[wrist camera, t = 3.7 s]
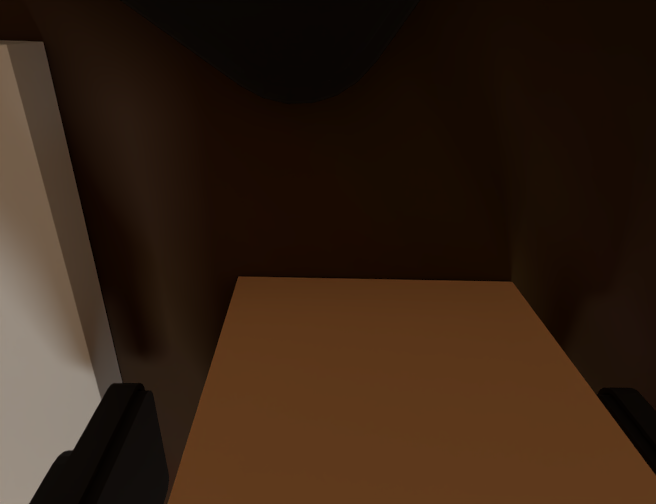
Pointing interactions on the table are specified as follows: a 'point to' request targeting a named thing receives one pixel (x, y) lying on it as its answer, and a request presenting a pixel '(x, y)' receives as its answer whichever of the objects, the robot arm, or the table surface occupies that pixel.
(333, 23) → the remote control
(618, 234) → the table surface
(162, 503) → the robot arm
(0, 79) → the post base
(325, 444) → the cardboard shipping carton
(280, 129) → the table surface
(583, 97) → the table surface
